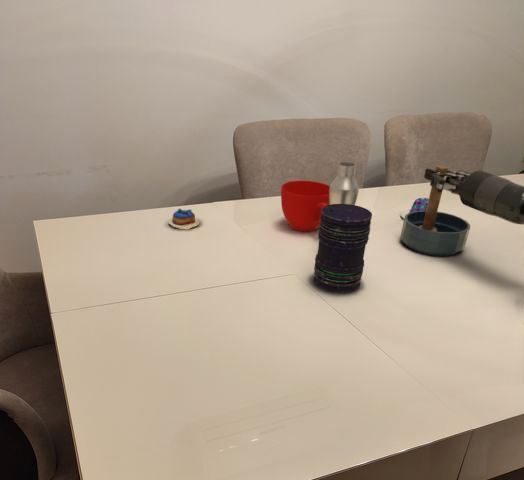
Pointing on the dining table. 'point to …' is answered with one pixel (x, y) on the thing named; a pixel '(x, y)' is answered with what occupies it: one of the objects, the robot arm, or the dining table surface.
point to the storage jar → (341, 247)
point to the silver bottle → (344, 185)
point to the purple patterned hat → (417, 206)
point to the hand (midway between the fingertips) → (431, 172)
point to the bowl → (435, 234)
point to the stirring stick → (433, 204)
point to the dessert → (183, 219)
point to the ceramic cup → (304, 203)
